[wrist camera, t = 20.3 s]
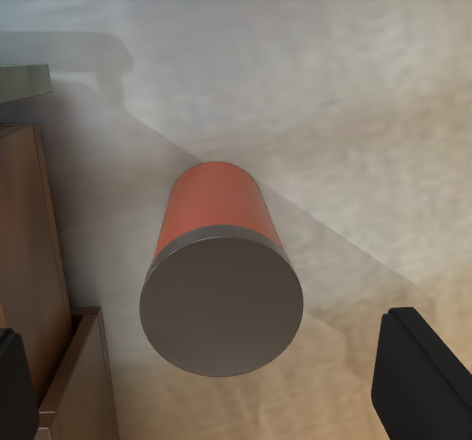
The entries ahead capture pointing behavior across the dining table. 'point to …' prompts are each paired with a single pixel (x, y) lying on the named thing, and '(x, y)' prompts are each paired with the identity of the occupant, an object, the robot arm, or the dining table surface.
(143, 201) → the dining table surface
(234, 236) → the tin
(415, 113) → the dining table surface
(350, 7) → the dining table surface
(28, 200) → the drawer
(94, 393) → the cabinet
